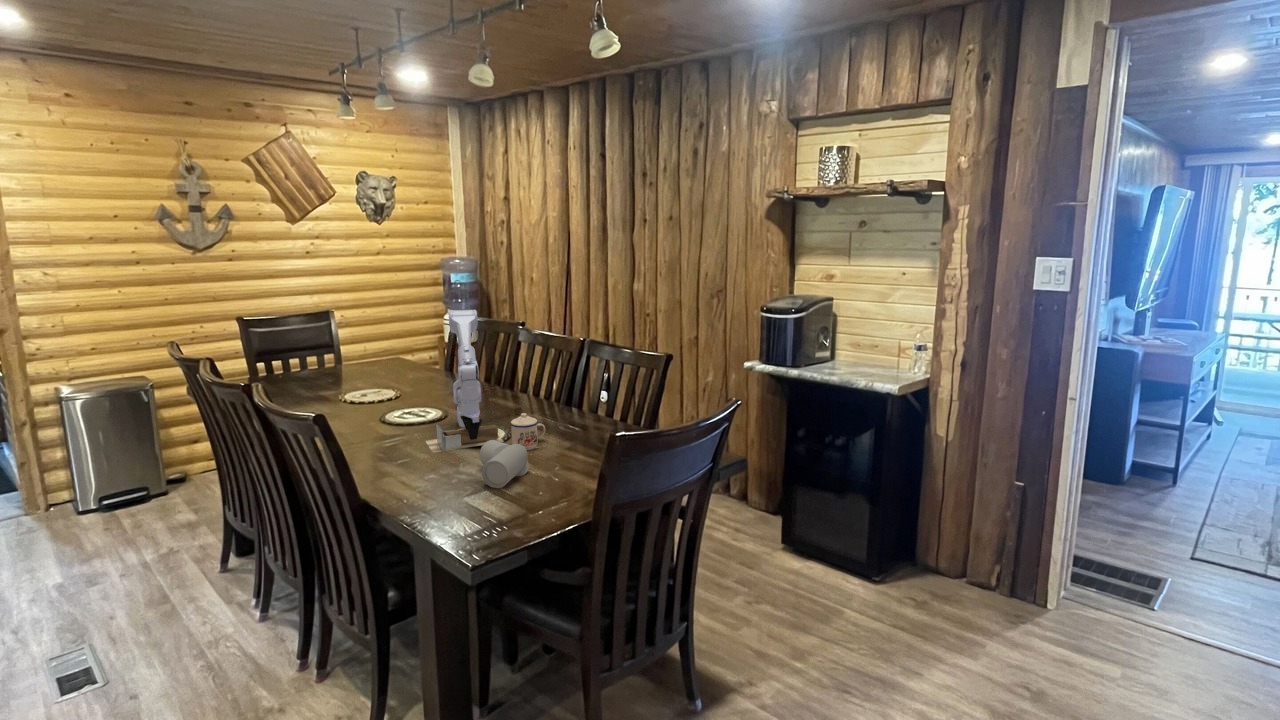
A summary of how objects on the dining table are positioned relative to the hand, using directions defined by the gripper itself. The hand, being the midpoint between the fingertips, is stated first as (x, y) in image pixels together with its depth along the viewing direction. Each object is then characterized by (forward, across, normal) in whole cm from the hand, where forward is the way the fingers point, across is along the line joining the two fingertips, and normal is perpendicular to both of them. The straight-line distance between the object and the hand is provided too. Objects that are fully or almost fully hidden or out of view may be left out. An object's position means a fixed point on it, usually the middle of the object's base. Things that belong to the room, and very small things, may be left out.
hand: (472, 437), depth 237 cm
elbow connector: (+3, +32, +1) cm, 32 cm away
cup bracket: (+2, 0, -8) cm, 8 cm away
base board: (+3, -3, -2) cm, 5 cm away
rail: (+1, 0, 0) cm, 1 cm away
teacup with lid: (+3, +10, +17) cm, 20 cm away
